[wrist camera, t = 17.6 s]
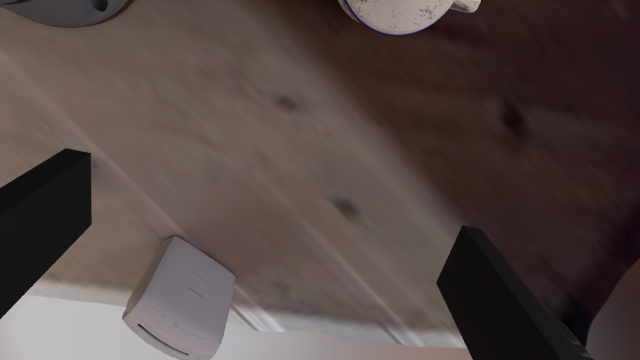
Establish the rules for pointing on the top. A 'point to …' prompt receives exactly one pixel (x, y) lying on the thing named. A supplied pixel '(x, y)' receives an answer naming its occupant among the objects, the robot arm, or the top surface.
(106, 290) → the top surface
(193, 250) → the photo printer
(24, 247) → the robot arm
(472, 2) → the teacup with lid
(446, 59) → the top surface
